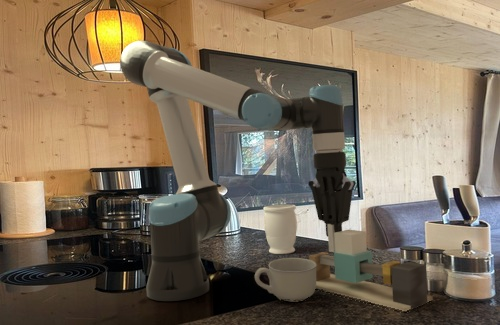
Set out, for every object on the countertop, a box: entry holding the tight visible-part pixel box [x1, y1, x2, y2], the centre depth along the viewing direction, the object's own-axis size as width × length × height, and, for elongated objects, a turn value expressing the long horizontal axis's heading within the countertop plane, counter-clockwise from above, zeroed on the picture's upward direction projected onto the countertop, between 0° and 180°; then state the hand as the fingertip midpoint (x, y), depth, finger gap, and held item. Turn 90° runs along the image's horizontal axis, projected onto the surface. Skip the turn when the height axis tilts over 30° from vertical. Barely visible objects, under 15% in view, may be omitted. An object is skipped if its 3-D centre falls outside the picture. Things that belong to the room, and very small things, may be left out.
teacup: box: [254, 257, 317, 301], centre depth 105 cm, size 14×11×8 cm
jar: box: [263, 203, 298, 255], centre depth 153 cm, size 11×10×15 cm
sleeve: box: [333, 229, 374, 283], centre depth 107 cm, size 6×6×10 cm
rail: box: [308, 251, 434, 311], centre depth 105 cm, size 10×28×8 cm, turn 38°
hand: (335, 250), depth 112 cm, fingers closed
